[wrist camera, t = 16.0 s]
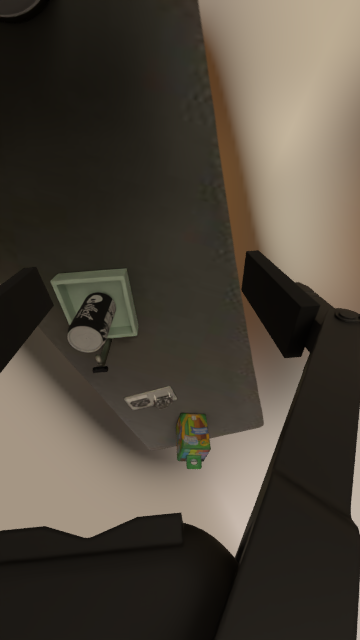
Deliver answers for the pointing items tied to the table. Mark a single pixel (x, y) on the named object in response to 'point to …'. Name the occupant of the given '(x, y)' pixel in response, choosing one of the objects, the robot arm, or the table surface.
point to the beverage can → (92, 322)
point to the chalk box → (192, 439)
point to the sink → (109, 282)
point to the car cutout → (152, 398)
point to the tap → (103, 357)
